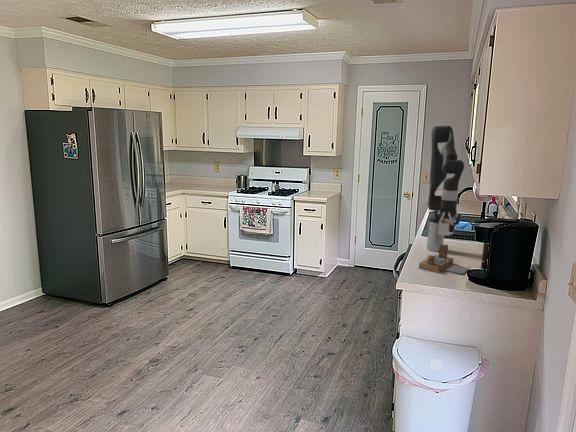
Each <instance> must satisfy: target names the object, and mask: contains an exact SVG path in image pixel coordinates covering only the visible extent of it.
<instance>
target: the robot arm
mask: <svg viewBox="0 0 576 432" xmlns="http://www.w3.org/2000/svg"><path fill="white" fill-rule="evenodd" d="M454 137H455V136H454V130H453V128H452V126H450V125H438V126H436V125H435V126H433V127H432V129H431V157H430V159H431V160H430V171H429V172H430V173H429V174H430V175H429V176H430V177H429V179H430V180H429V181H430V182H429V194H428V204H427V205H428V210H429V211H434V215H431V216H430V217H429V219H428V220H429V221H428V230H427V231H428V232H427V241H426V250H428V251H432V252H439V247H440V245H441V244H444V238H445V235H440V234H438V230H439V223H440V222H444V220H450V222H451V229H450V232H451V233H452V232H453V231H454V232H455V226H457V225H460V222H461V219H462V216H463V213H462V212H461V213H460V212H458V211H457V207H458V206H457V205H458V196H459V191H458V189H459V184H460V183H459V182H460V179H461V177H462V174H463V172H464V170H465V163H464V162H463V161H464V160H462V159H461V160H460V159H458V155H457V151H456V147H455V138H454ZM442 143H443V144H444V145H443V146H442V148H441V151H440V149H439V144H442ZM448 174H449V175H451V174H452V175H453V177H449V178H448V176H447V175H448ZM442 183H443V185H442V187H443V189H442V194H441V195H436V191H437V189H439V187H440V185H441V184H442ZM455 216H456V218H455ZM455 219H456V220H455Z"/></svg>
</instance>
